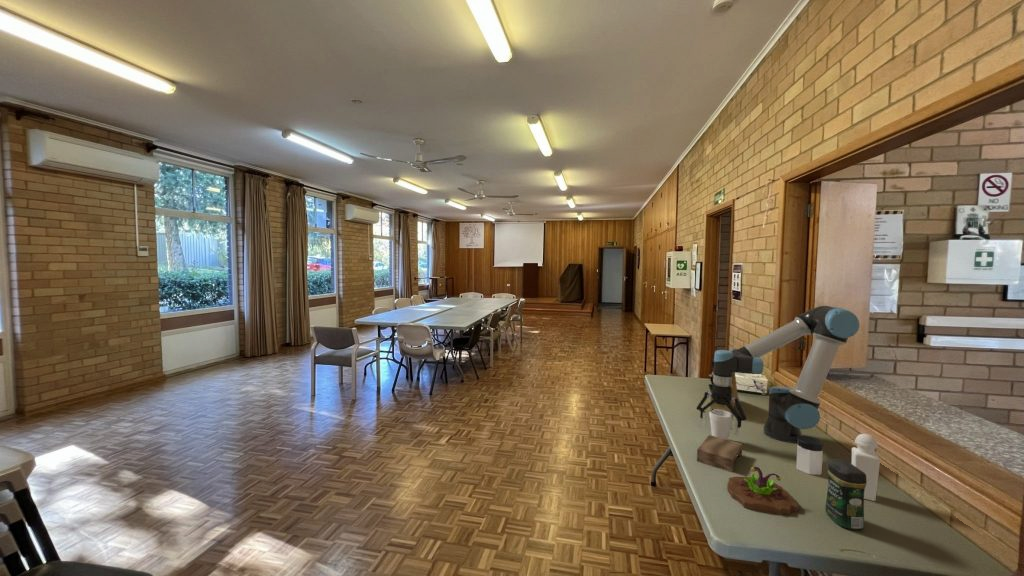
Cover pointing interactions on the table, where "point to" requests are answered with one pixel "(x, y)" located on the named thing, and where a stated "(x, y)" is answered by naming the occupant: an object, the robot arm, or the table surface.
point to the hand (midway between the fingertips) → (719, 429)
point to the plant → (761, 494)
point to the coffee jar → (845, 494)
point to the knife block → (733, 392)
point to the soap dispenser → (867, 463)
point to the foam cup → (720, 423)
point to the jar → (809, 455)
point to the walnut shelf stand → (719, 452)
